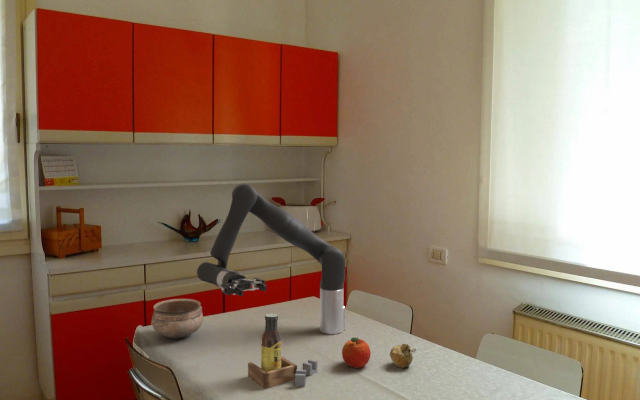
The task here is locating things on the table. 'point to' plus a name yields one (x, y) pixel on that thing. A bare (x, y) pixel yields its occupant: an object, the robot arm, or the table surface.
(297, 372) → the clip
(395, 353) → the onion
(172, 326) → the cooking pot
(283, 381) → the frame
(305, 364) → the clip
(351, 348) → the fruit
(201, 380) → the table surface
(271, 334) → the sauce bottle
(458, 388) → the table surface
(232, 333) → the table surface
